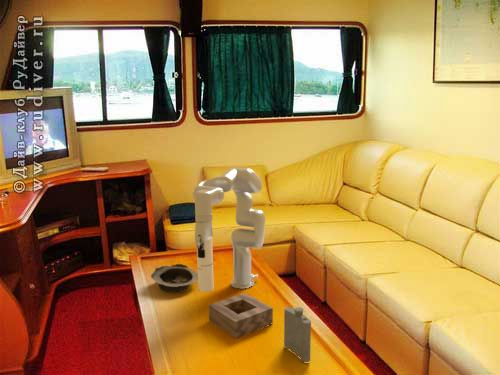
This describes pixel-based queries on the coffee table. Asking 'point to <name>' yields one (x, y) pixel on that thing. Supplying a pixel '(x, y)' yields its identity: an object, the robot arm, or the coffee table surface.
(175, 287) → the stone bowl
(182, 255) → the coffee table surface
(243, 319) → the walnut well block
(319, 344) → the coffee table surface
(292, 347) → the hip flask
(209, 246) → the cylindrical container
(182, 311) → the coffee table surface
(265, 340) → the coffee table surface
